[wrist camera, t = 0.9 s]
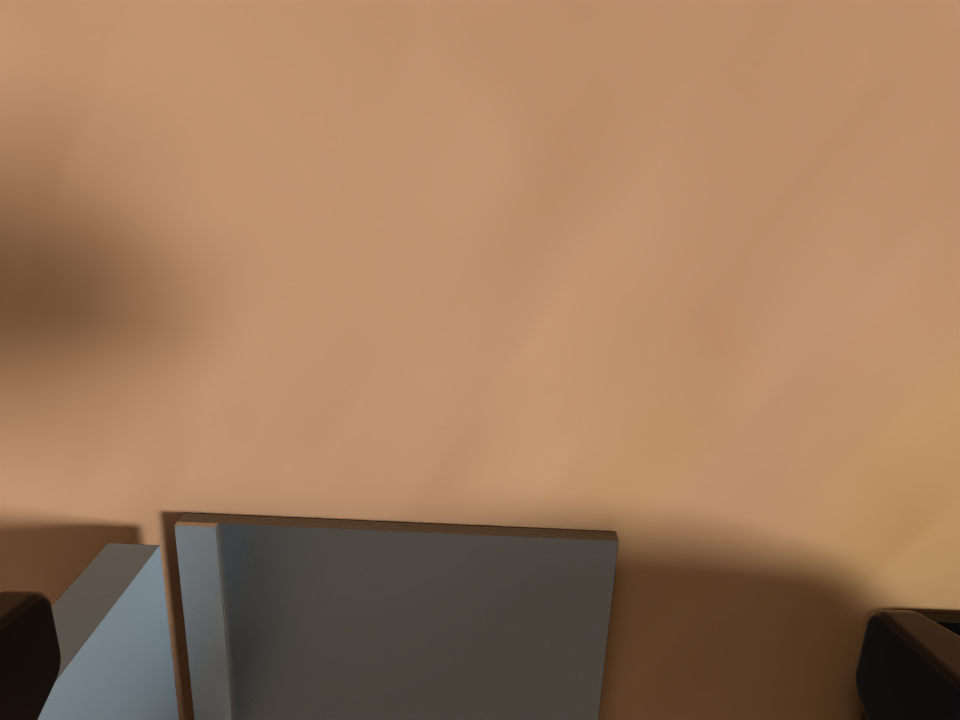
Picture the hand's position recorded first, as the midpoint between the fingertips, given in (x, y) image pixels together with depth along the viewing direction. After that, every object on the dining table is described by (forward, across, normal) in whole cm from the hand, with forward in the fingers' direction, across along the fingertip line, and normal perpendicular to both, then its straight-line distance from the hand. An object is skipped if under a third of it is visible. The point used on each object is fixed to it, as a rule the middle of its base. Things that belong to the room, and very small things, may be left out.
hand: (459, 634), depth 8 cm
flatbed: (+13, +2, +13) cm, 19 cm away
